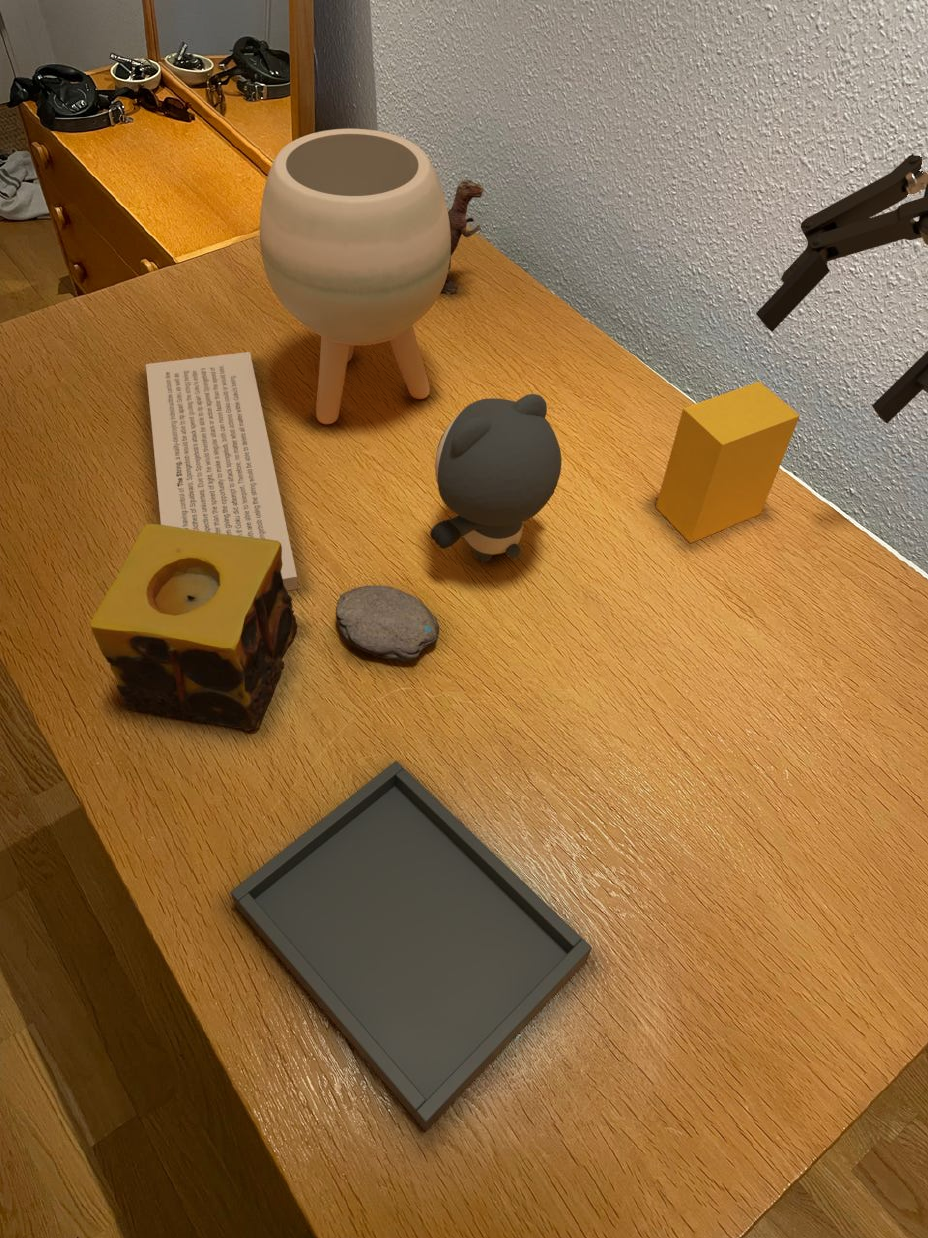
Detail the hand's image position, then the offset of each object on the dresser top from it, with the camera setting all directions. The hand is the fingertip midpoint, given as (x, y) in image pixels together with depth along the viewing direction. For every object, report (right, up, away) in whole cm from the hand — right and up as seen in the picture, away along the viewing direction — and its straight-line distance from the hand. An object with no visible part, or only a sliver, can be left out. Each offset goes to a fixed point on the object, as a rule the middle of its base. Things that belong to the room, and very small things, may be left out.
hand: (818, 367), depth 77 cm
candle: (-48, -24, -6) cm, 54 cm away
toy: (-27, -15, +3) cm, 31 cm away
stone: (-35, -22, -3) cm, 41 cm away
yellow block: (-7, -11, +7) cm, 15 cm away
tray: (-32, -40, -18) cm, 54 cm away
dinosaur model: (-34, +16, +28) cm, 47 cm away
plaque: (-51, -8, +8) cm, 52 cm away
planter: (-39, +2, +16) cm, 42 cm away
